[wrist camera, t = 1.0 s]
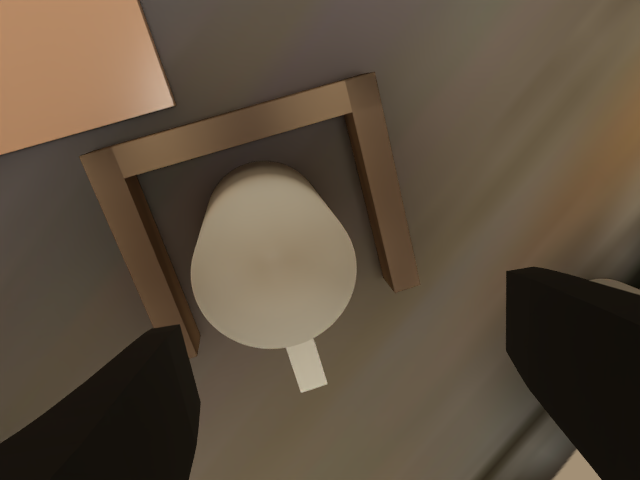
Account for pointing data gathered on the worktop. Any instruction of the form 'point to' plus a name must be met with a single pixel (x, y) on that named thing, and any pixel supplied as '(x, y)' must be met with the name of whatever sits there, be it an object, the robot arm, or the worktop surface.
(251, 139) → the holder
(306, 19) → the worktop surface
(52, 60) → the plate
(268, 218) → the jug
